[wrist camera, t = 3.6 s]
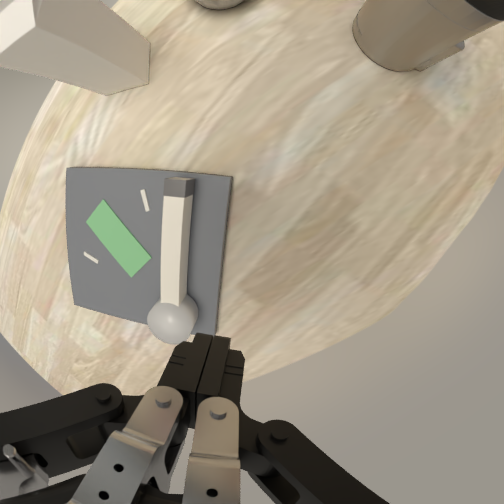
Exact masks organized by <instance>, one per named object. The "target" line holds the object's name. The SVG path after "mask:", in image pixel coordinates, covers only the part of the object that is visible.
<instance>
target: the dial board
mask: <svg viewBox="0 0 504 504" xmlns="http://www.w3.org/2000/svg"><path fill="white" fill-rule="evenodd" d="M171 177H183V178H193V179H195V186H194V194H193V200H192V211H191V223H190V237H189V252H188V270H187V295H189V296H190V297H191V298H192V299H193V300H194V301H195V303H196V305H197V307H198V318H197V320H196V323H195V325H194V327H193V329H192V331H191V334H193V335H196V333H197V332H198V333H204V334H209V335H213V337H214V335H215V334H216V329H217V317H218V306H219V295H220V284H221V274H222V264H223V254H224V245H225V236H226V227H227V218H228V209H229V201H230V192H231V184H232V177H231V176H223V175H213V174H203V173H193V172H181V171H168V170H153V169H135V168H106V167H70V168H67V170H66V234H67V249H68V260H69V270H70V278H71V285H72V292H73V299H74V305H77V306H81V307H84V308H87V309H90V310H94V311H97V312H101V313H104V314H108V315H111V316H115V317H119V318H123V319H126V320H130V321H134V322H138V323H142V324H147V325H148V323H147V316H148V313H149V312H150V310H151V309H152V308H153V306H154V305H155V304H156V302H157V301H158V300H159V299H160V297H161V237H162V216H163V201H164V196H163V191H164V179H165V178H171Z"/></svg>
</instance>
